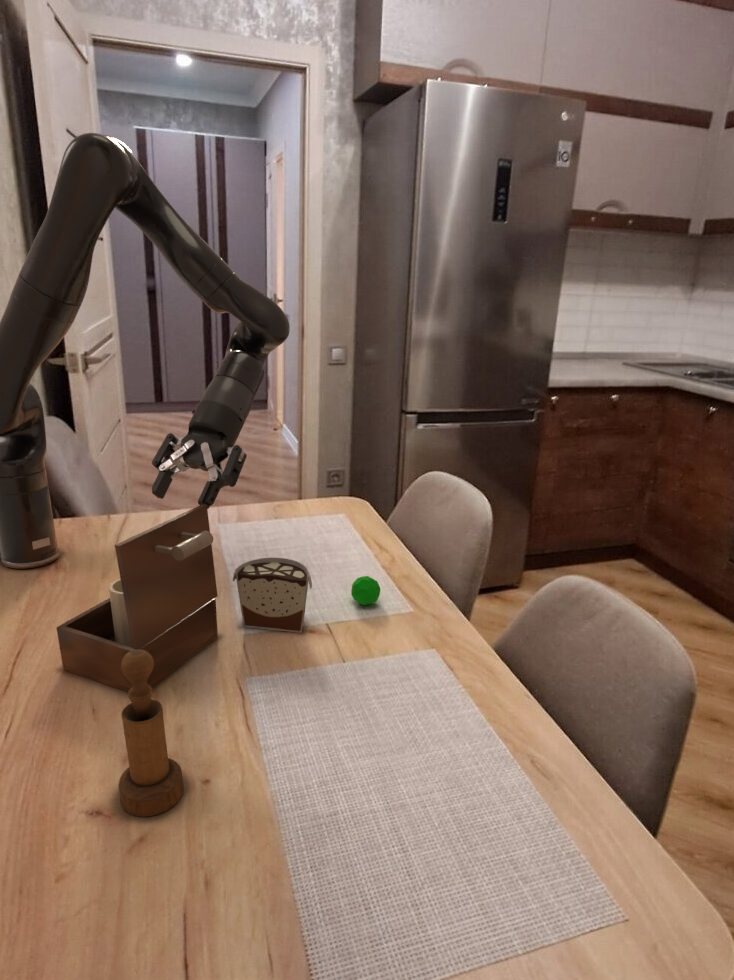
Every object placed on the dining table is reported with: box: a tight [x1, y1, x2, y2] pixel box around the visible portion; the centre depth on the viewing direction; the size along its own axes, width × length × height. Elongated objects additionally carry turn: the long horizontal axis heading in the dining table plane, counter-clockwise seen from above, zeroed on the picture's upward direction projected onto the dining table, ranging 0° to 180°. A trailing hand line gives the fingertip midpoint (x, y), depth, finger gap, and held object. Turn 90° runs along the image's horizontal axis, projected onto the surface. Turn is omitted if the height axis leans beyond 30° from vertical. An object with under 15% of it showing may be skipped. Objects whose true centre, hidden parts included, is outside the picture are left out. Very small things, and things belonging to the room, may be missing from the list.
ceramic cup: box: [108, 577, 133, 648], centre depth 96 cm, size 5×5×10 cm
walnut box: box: [56, 597, 219, 693], centre depth 96 cm, size 14×17×7 cm
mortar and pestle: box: [118, 650, 185, 817], centre depth 69 cm, size 7×6×18 cm
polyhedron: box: [350, 575, 381, 606], centre depth 114 cm, size 5×5×5 cm
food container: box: [232, 557, 313, 634], centre depth 106 cm, size 12×6×10 cm, turn 84°
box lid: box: [114, 504, 218, 650], centre depth 89 cm, size 14×17×6 cm
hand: (179, 501), depth 100 cm, fingers open, 8 cm apart
